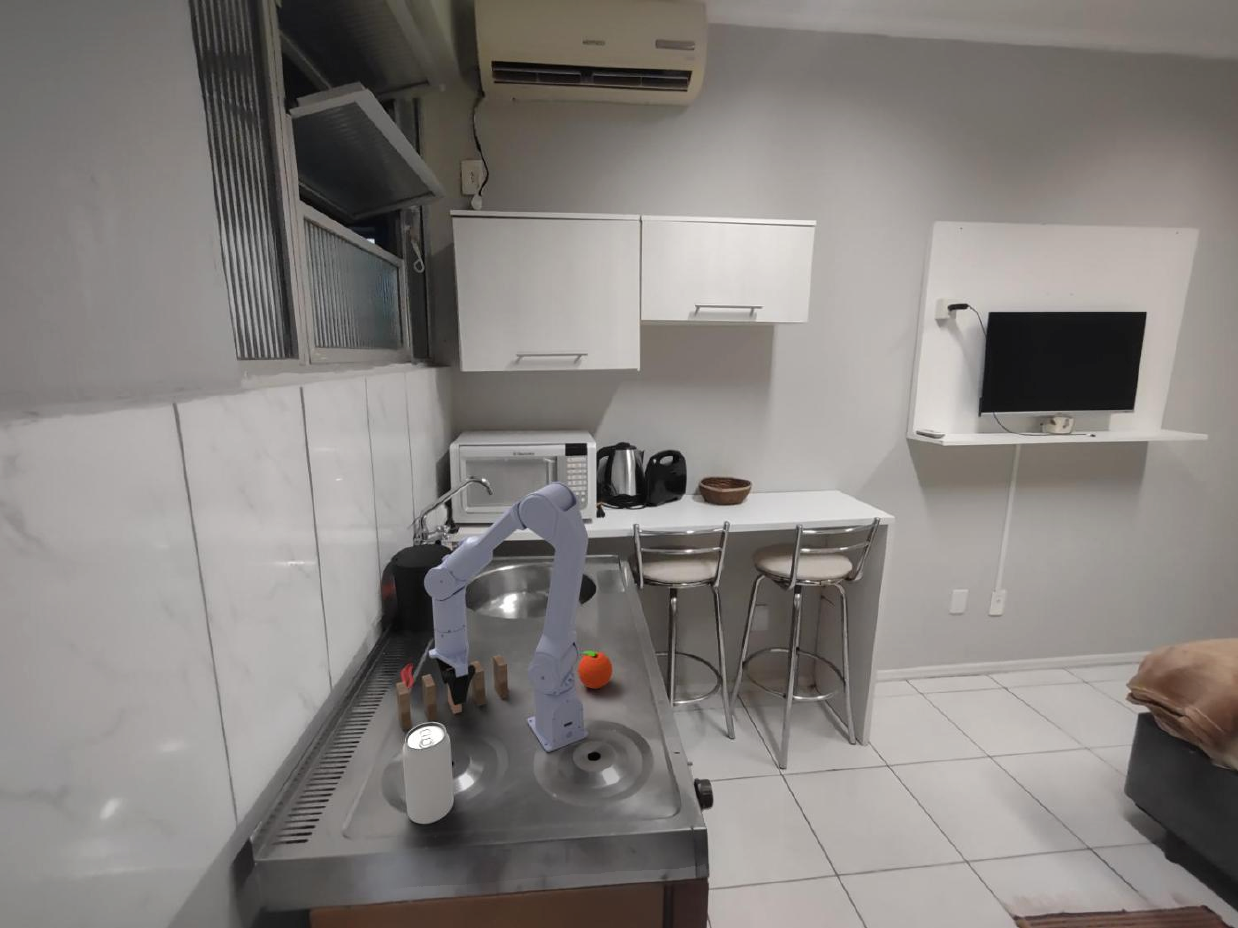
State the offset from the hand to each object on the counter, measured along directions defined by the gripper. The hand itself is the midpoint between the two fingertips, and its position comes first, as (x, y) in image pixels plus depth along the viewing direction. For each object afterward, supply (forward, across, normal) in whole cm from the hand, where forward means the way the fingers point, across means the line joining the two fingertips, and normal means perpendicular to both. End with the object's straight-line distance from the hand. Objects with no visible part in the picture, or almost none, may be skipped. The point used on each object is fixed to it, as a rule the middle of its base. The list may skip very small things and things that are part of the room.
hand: (454, 691), depth 101 cm
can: (+3, +22, -9) cm, 24 cm away
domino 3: (+3, 0, 0) cm, 3 cm away
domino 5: (+3, 0, +9) cm, 10 cm away
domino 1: (+3, 0, -9) cm, 10 cm away
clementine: (+3, +7, +26) cm, 27 cm away
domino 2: (+3, 0, -4) cm, 5 cm away
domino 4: (+3, 0, +4) cm, 5 cm away
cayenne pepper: (+4, -15, -6) cm, 16 cm away
